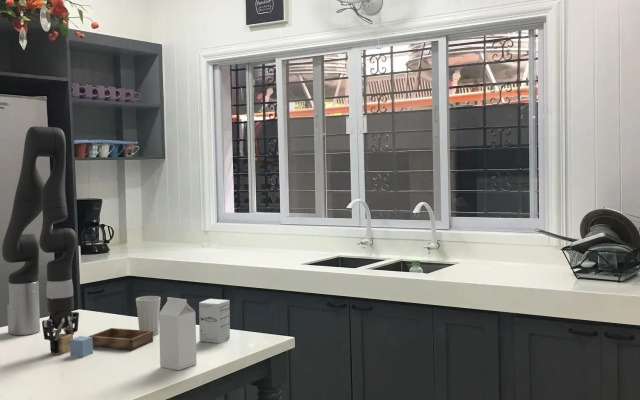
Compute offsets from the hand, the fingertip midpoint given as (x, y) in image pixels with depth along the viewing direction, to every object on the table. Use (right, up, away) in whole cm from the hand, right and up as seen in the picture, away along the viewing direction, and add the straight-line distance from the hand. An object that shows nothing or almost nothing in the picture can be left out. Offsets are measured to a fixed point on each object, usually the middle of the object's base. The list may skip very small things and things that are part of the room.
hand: (61, 349), depth 214 cm
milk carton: (+39, -1, -17) cm, 42 cm away
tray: (+16, 0, +8) cm, 18 cm away
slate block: (+7, -1, -4) cm, 8 cm away
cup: (+21, +1, +21) cm, 30 cm away
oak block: (0, -1, 0) cm, 1 cm away
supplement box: (+44, 0, +12) cm, 46 cm away
